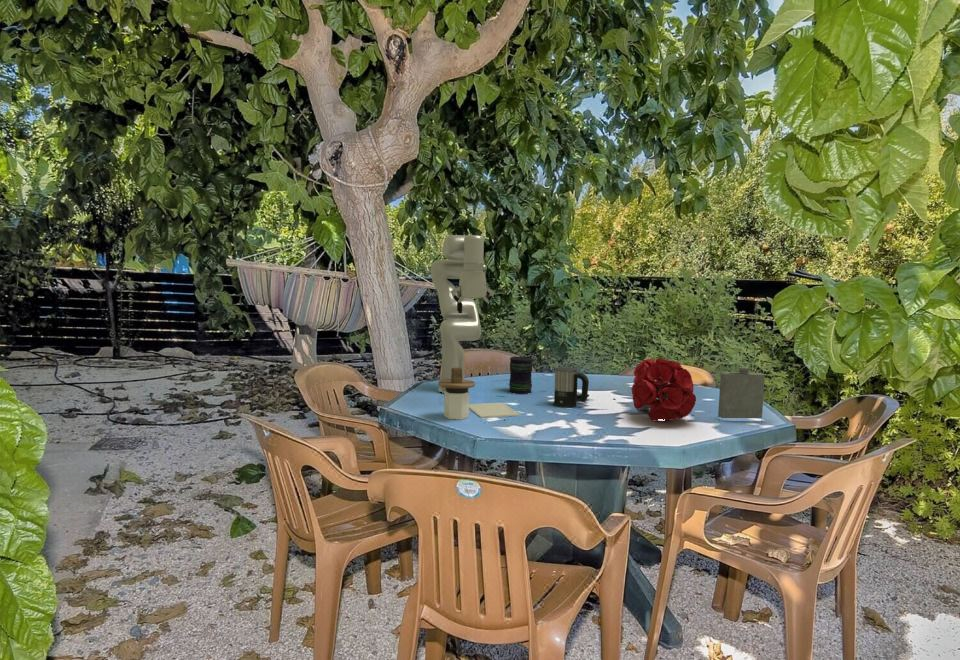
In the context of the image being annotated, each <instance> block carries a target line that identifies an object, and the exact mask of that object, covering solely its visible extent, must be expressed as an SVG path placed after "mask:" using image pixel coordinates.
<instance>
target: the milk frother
mask: <svg viewBox="0 0 960 660" xmlns="http://www.w3.org/2000/svg"><path fill="white" fill-rule="evenodd" d="M578 370H579V369H578V368H576V367H572V366H571V367H569V366H558V367H557V366H556V367H554V397H553V403H552V404H553V405H554V406H555V407H560V408H575V407H576V406H577V403H579V402H586V401H587V400H588V398H590V394H588V393H589V382H590V381H589V378H588V376H587V375H585V373H582V372H578ZM578 379H579V380H581V382H582V385H581V394H578Z"/></svg>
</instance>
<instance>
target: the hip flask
mask: <svg viewBox="0 0 960 660" xmlns="http://www.w3.org/2000/svg"><path fill="white" fill-rule="evenodd" d="M749 371H750V367H748V366H738V371H729V372H725V371H724V372H720V379H719V381H720V383H719V396H718V397H719V398H718V412H717V413H718V414H717V418H718V417H721V418H762V419H763V407H764V395H765V394H764V393H765V381H766V380H765V379H766V374H765V373H762V372H761V373H760V372H759V373H758V372H757V373H756V372H751V373H749Z"/></svg>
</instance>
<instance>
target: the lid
mask: <svg viewBox="0 0 960 660" xmlns="http://www.w3.org/2000/svg"><path fill="white" fill-rule="evenodd" d="M437 383H438V386H439V388H440V387H444V388H451V389H464V388H468V389H470V388H474V387H475V386H476V382H475V381H473V380H472V379H471V380H470V379H465V378H464V379H462V369H461V368H451V379H446V380H442V379H441V380H439V381H438V382H437Z"/></svg>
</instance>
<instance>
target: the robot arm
mask: <svg viewBox="0 0 960 660" xmlns="http://www.w3.org/2000/svg"><path fill="white" fill-rule="evenodd" d="M484 244H485V240H484V237H483V236H482V235H477V234H469V235H466V234H465V235H462V234H450V235H448V236H447V235H446V236H445V238H444V240H443V244H442V247H441V252H442V256H443V257H445V259H437V260H435V261H433V262H432V263H431V266H430V276H431V277H430V278H431V281H432V284H433V286H434V288H435V290H436V293H437V297H438V301H439V308H440V312H441V313H440V314H441V316H442V317H443V318H444V320H443V321H442V322H441V323H440V327H439V328H440V331H439V332H440V337H441V338H440V339H441V380H446V379H451V368H461V369H462V379H464V380H465V350H464V348H463V346H462V345H461V344H460V342H465V341H466V342H472V341H473V342H474V341H477V340H479V339H480V338H481V335H482V326H481V321H480V316H479V310H478V305H477V302H476V300H474V299H481V300H482V301H483V302H482V309H481V310H482V311H481V313H483V314H487V312H488V310H489V307H488V305H489V302H490V301H491V300H492V299H493V297H494V295H495V293H496V292H495V290H493V289H491V288H490V287H488V286H487V277H486V272H484V270H487V265H485V264H484V256H485V255H484V250H485V249H484V248H485V245H484ZM448 279H450V280H459V283H458V287H455V285H454V284H453V283H452V282H451V281H449V280H448ZM487 292H488V293H489V295H487ZM438 391H439V392H438ZM445 391H446V389H445V388H444V387H440V386H439V387H438V388H437V392H438V393H440V392H442V393H441V394H443V393H444V392H445Z"/></svg>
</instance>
